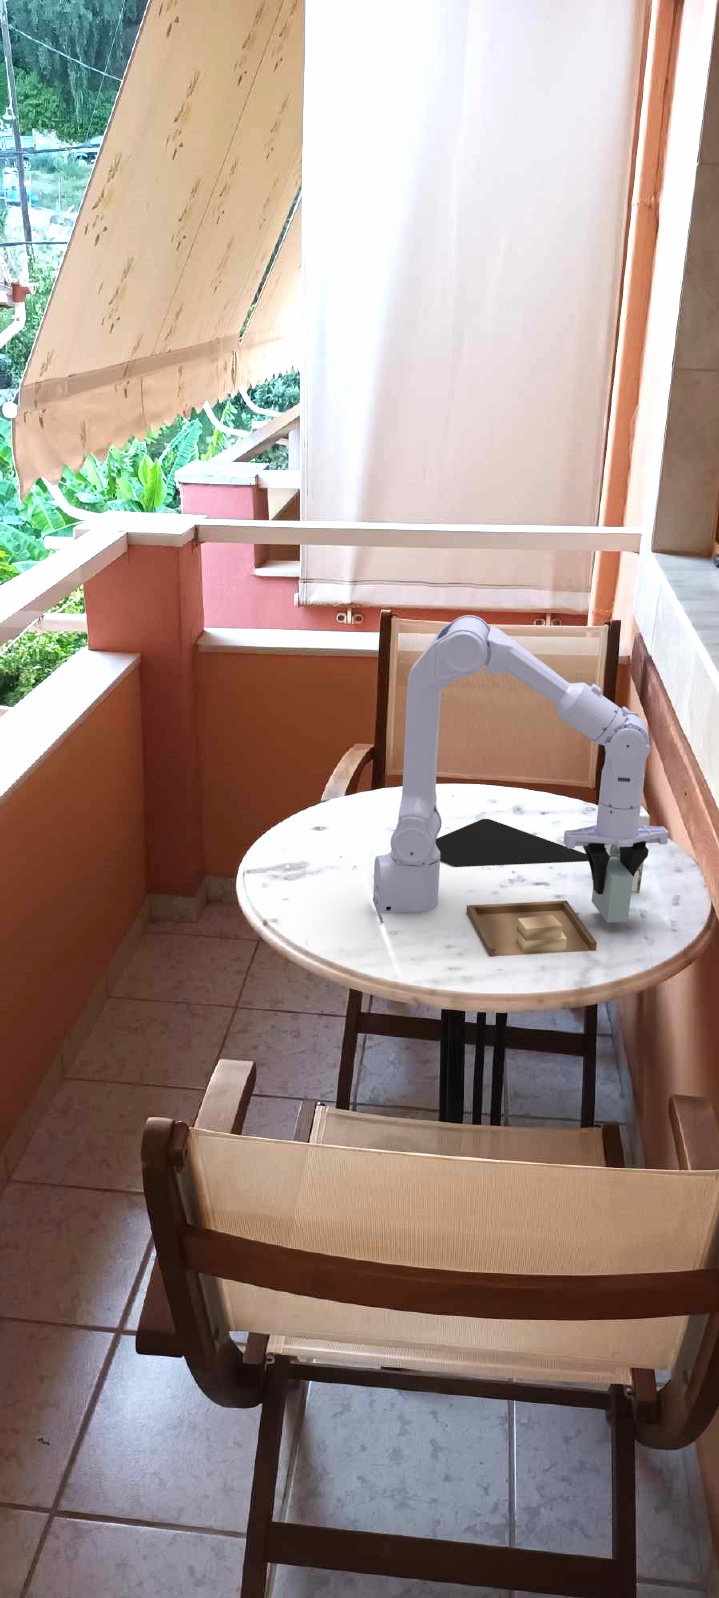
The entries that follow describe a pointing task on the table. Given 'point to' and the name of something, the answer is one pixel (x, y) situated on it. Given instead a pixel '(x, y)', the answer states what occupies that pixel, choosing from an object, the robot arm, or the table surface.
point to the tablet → (500, 847)
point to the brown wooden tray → (501, 919)
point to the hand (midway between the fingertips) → (610, 890)
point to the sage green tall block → (614, 892)
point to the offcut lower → (542, 944)
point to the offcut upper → (539, 927)
